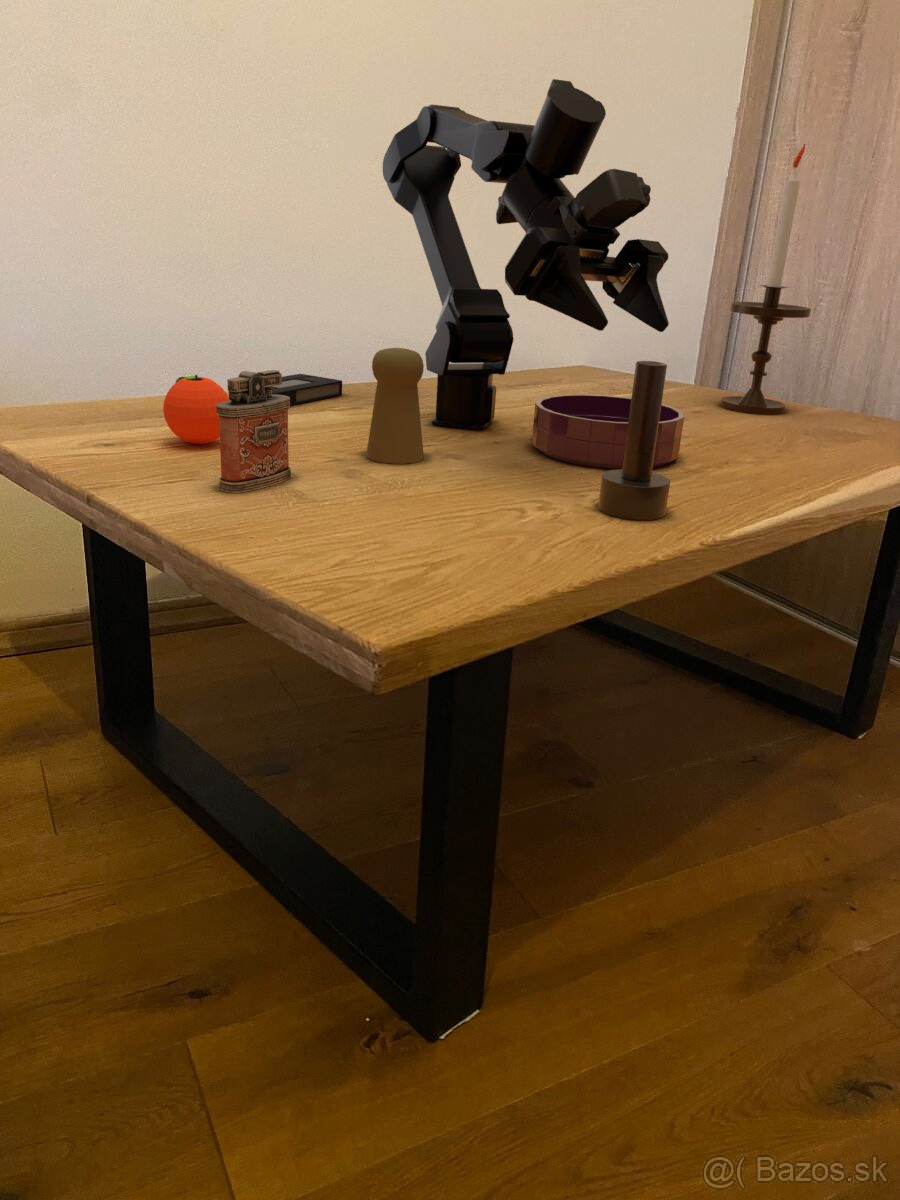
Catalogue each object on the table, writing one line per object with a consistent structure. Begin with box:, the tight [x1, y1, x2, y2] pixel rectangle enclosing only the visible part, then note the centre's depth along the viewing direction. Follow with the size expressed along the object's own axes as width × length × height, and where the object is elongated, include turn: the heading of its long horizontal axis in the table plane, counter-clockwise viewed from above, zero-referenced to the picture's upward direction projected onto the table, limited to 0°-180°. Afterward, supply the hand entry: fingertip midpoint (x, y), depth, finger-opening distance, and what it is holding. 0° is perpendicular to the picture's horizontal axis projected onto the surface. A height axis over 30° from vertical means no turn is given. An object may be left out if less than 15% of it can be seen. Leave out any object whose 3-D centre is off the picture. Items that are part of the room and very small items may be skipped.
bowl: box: [531, 393, 685, 470], centre depth 103 cm, size 16×16×5 cm
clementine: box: [162, 374, 229, 445], centre depth 97 cm, size 8×7×7 cm
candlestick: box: [720, 143, 812, 415], centre depth 129 cm, size 11×11×35 cm
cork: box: [366, 347, 425, 465], centre depth 95 cm, size 6×6×11 cm
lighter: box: [216, 369, 292, 494], centre depth 83 cm, size 8×3×10 cm, turn 148°
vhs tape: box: [228, 373, 343, 406], centre depth 123 cm, size 8×14×2 cm, turn 149°
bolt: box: [597, 360, 671, 521], centre depth 81 cm, size 6×6×13 cm
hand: (635, 327), depth 87 cm, fingers open, 9 cm apart
